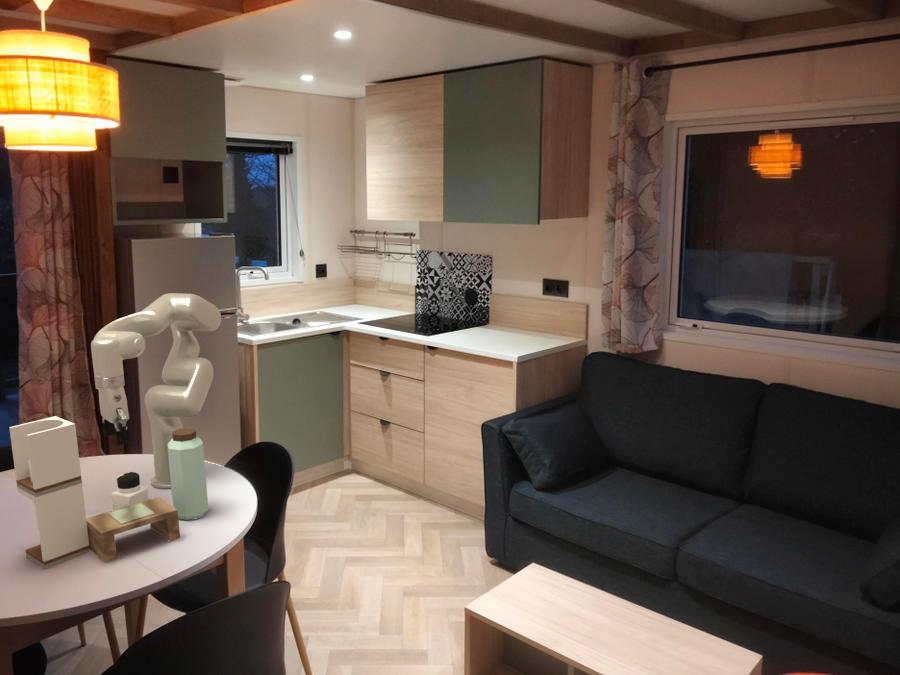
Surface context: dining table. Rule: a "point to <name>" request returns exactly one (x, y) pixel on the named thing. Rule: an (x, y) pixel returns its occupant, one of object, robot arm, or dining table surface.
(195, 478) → the water bottle
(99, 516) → the bench shelf
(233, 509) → the dining table surface
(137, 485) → the medicine bottle
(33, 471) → the white tower
